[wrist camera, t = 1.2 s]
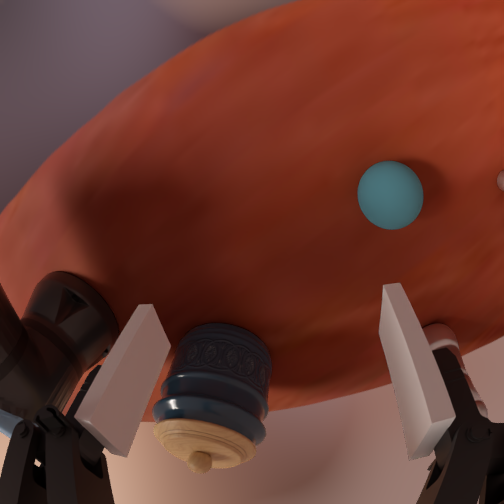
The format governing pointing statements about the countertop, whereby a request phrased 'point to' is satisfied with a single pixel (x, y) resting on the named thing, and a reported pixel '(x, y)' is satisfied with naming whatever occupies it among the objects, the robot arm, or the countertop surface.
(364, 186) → the ball
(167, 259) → the countertop surface
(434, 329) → the plastic bottle
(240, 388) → the canister
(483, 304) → the countertop surface
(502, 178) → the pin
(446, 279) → the countertop surface
